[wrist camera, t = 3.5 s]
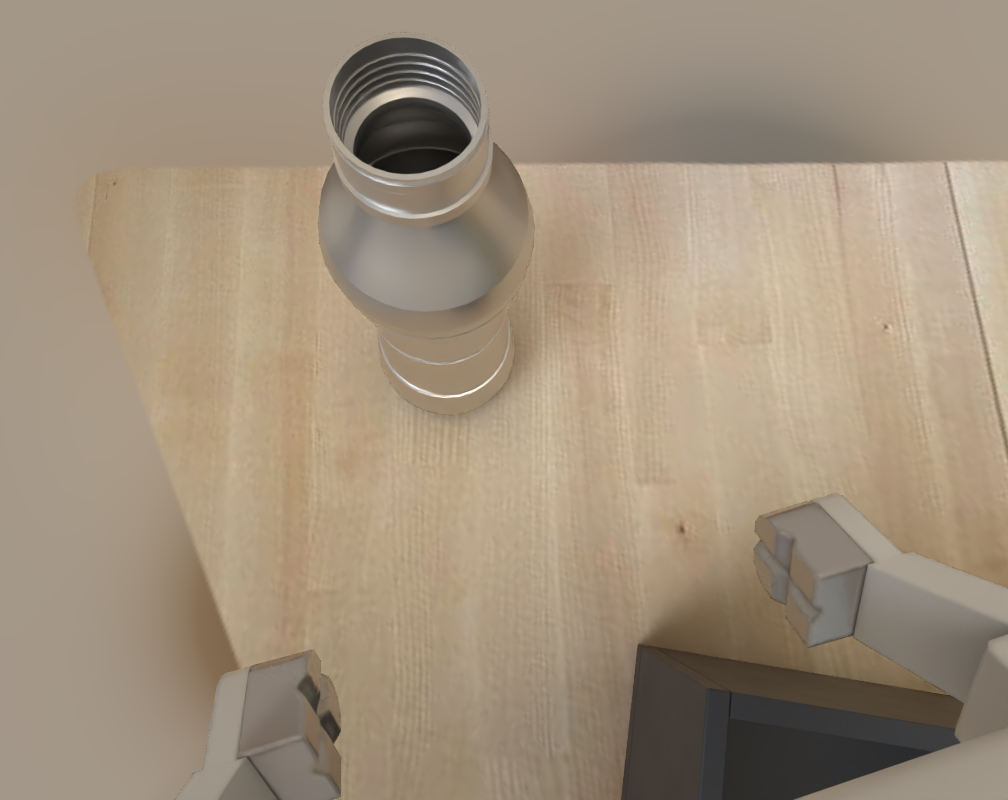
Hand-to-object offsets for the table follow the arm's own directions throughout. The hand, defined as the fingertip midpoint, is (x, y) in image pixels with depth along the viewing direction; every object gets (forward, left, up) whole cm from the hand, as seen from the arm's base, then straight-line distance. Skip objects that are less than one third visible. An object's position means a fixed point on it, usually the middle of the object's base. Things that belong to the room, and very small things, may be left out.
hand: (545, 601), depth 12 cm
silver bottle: (-4, +10, -20) cm, 23 cm away
